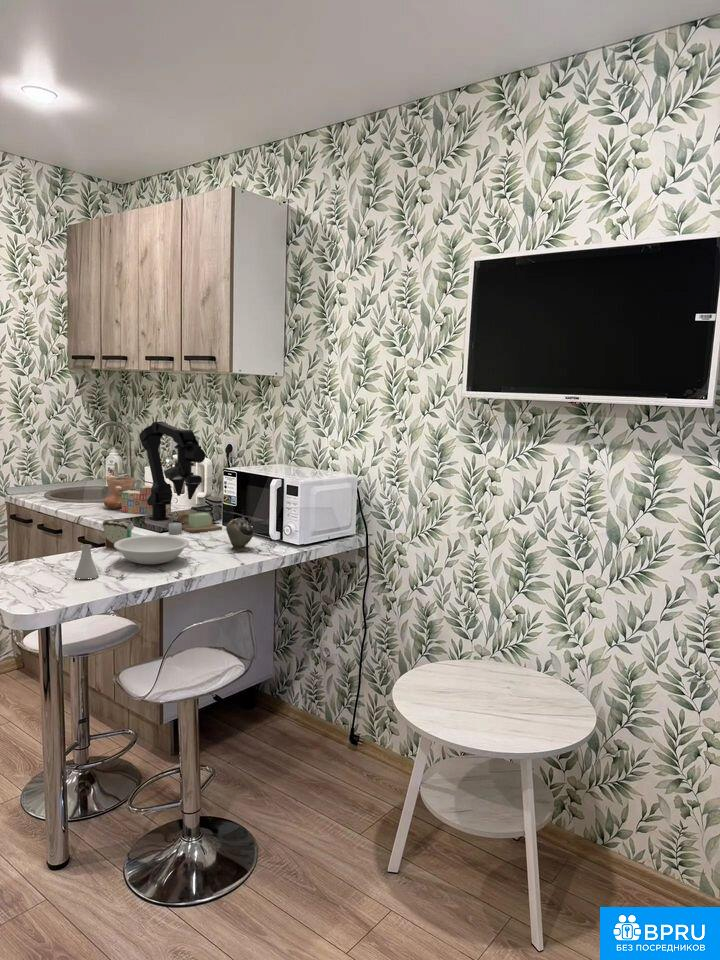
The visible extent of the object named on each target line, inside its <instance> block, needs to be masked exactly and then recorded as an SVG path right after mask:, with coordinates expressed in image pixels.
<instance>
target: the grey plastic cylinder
mask: <svg viewBox="0 0 720 960" xmlns="http://www.w3.org/2000/svg"><path fill="white" fill-rule="evenodd" d="M182 525H183V524H182V523H179V522H169V523H168V535H169V536H179V534H180V535H182V533H183V530H182Z"/></svg>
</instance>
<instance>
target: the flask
mask: <svg viewBox="0 0 720 960" xmlns="http://www.w3.org/2000/svg"><path fill="white" fill-rule="evenodd" d="M92 547H93V546H92V544H87V543H86V544H82V545H81V544H80V548H81V555H80V559H79V562H78V565H77V567H76V570H75V573H74V576H75V578H78V579H77V580H79V578H80V579H88V578H89V579H90V578H95V577H97V576H99V573H98V570H97V568H96V566H95V563H94V559H93V557H92V551H91V549H92ZM97 578H98V577H97ZM95 579H96V578H95ZM90 580H91V579H90Z"/></svg>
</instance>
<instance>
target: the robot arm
mask: <svg viewBox="0 0 720 960" xmlns="http://www.w3.org/2000/svg"><path fill="white" fill-rule="evenodd" d="M164 436H167V437H170V438H172V442H175V443H176V445H175V446H174V449H177V451H176V452H177V453H176V454H177V457H176V460H177V462H175V463H174V466H172V467H169V468H167V469H165V470H163V466H162V465H163V464H162V460H161V455H160V450H159V449H160V446H161V443H162V441H161V439H162V438H163V437H164ZM138 437H139V441H140V444H141V446H142V448H144V450H145V451H146V453H147V454H146V455H147V458H148V465H149V468H150V474H151V477H152V479H151V480H152V485H151V486H152V488H151V495H150V497H149V498H148V500H147V503H148V505H150V506H152V515H151V516H149V517H148V519H151V520H154V521H162V520H169V519H170V517H168V516H167V515H166V505H168V504H169V505H170V504H171V505H172V499H173V490H172V484H171V483H173V486H174V489H175V493H176V495H177V496H178V497H180V496H181V494H182V491H183V487H184V485H185V486H186V488H187V498H188V500H192V499H193V496H194V494H195V492H196V490H197V489H198V487H199V485H201V484H202V482H203V478H202V476H201V475H198V474H194V472H192V471H193V470H192V467H193V466H194V463H198V464H201V463H202V462H204V461H205V459H206V453H205V451H204V449H202V446H201V445H199V441H198V439H197V437H196V435H195V433H194V431H193V430H192V429H185V428H184V429H183V428H179V427H175V426H173V425H170V424H168V423H166V422H165V421H154V422H152V423H151V424H150V425H148V426H146V427H145V428H143V430H141V432H140V433H139V436H138ZM166 479H168V480H169V481H170V482H171V483H167V481H166Z"/></svg>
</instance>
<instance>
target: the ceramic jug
mask: <svg viewBox="0 0 720 960" xmlns="http://www.w3.org/2000/svg"><path fill="white" fill-rule="evenodd" d="M105 479H106V485H107V487H108V490H109V492H110V493H109V495H108V496H106V497H105V498H104V499H103V504H104V506H105V507H106V508H108V509H111V510H118V509H122V505H121V500H122V499H121V492H124V491H128V490H130V491H132V489H133V486H134V483H135V478H134V477H131V476H130V477H129V476H122V475H121V476H120V475H119V476H108V477H106V478H105Z"/></svg>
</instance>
